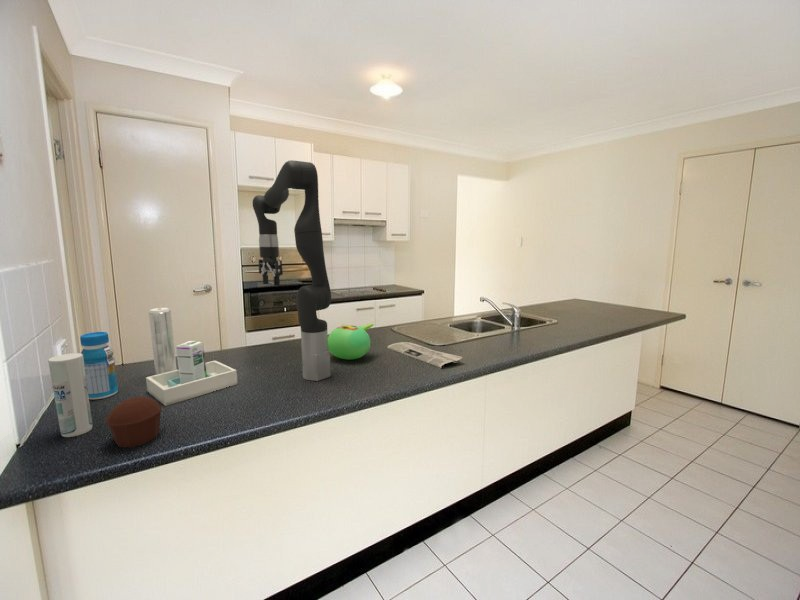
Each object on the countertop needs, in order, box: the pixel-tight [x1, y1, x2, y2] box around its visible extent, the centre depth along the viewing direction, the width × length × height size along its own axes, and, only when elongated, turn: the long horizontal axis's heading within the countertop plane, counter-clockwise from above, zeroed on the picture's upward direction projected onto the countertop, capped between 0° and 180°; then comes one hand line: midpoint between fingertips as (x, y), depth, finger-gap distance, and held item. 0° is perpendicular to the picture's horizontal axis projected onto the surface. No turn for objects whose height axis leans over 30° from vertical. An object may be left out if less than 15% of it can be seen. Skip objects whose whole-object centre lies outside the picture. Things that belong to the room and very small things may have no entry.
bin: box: [145, 360, 238, 407], centre depth 123 cm, size 16×22×5 cm
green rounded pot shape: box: [328, 323, 374, 361], centre depth 154 cm, size 18×17×15 cm
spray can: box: [47, 352, 93, 438], centre depth 94 cm, size 6×6×20 cm
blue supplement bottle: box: [79, 331, 119, 401], centre depth 116 cm, size 8×8×20 cm
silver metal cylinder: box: [148, 307, 178, 375], centre depth 132 cm, size 6×6×25 cm
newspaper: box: [387, 341, 463, 368], centre depth 158 cm, size 35×12×4 cm, turn 39°
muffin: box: [104, 396, 163, 448], centre depth 92 cm, size 12×11×10 cm
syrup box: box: [175, 340, 207, 385], centre depth 122 cm, size 6×6×14 cm
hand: (271, 284), depth 155 cm, fingers open, 8 cm apart
